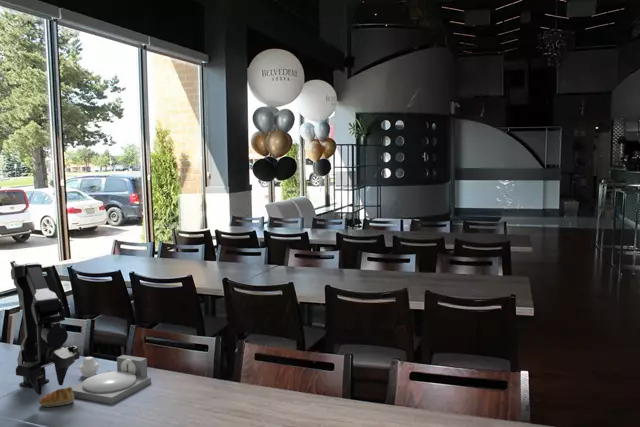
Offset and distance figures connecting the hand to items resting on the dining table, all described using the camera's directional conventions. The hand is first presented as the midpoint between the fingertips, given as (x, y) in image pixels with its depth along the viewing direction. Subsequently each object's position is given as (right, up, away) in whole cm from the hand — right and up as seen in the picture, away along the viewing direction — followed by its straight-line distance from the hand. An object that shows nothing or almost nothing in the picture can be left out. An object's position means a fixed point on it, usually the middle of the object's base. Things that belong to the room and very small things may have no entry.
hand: (50, 389), depth 171 cm
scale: (+15, -3, +12) cm, 19 cm away
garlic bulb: (+3, -3, +22) cm, 23 cm away
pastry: (0, -5, +1) cm, 5 cm away
